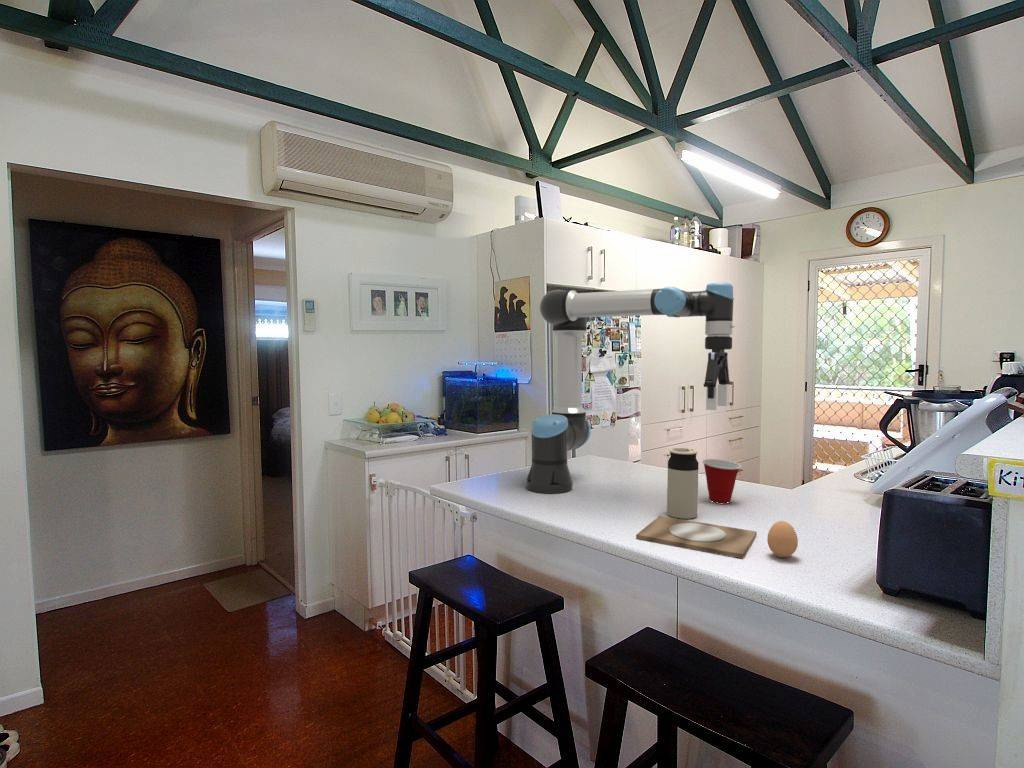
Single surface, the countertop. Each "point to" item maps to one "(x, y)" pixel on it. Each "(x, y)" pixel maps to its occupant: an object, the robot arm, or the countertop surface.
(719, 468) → the plastic cup
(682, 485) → the travel mug
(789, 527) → the egg
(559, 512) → the countertop surface
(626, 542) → the countertop surface
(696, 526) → the walnut board
